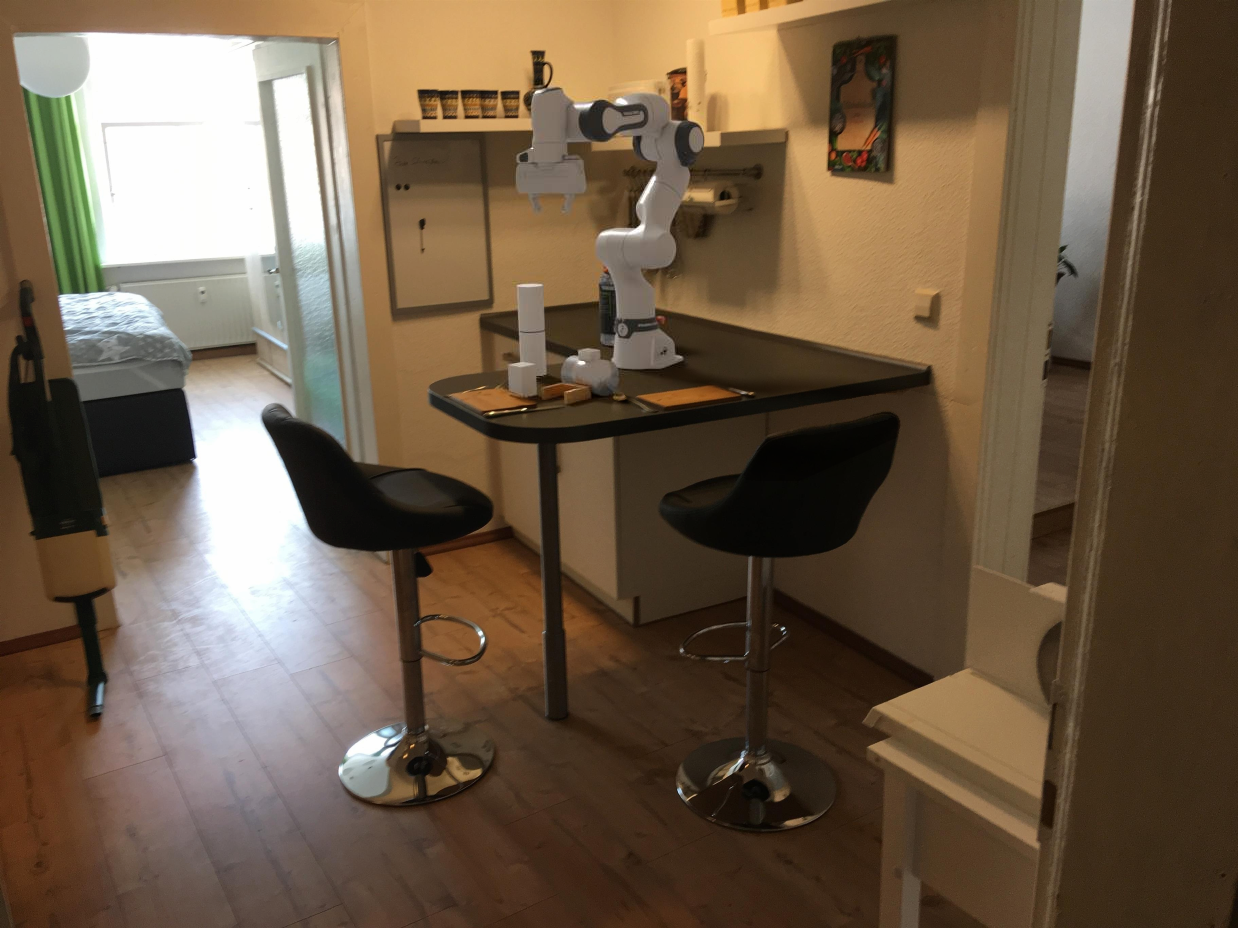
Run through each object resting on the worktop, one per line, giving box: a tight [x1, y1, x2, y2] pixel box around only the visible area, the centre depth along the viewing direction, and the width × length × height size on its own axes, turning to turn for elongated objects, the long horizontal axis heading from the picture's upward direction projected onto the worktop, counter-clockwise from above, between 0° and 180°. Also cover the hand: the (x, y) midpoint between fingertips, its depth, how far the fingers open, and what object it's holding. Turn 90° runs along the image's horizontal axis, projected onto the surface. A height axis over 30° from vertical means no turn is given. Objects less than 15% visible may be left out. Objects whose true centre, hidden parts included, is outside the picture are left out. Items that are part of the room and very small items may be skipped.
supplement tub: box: [598, 263, 648, 347], centre depth 324 cm, size 16×16×26 cm
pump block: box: [507, 362, 538, 398], centre depth 256 cm, size 5×5×8 cm
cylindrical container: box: [516, 283, 547, 377], centre depth 278 cm, size 7×7×25 cm
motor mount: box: [541, 347, 620, 405], centre depth 254 cm, size 18×12×11 cm
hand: (551, 212), depth 256 cm, fingers open, 8 cm apart
